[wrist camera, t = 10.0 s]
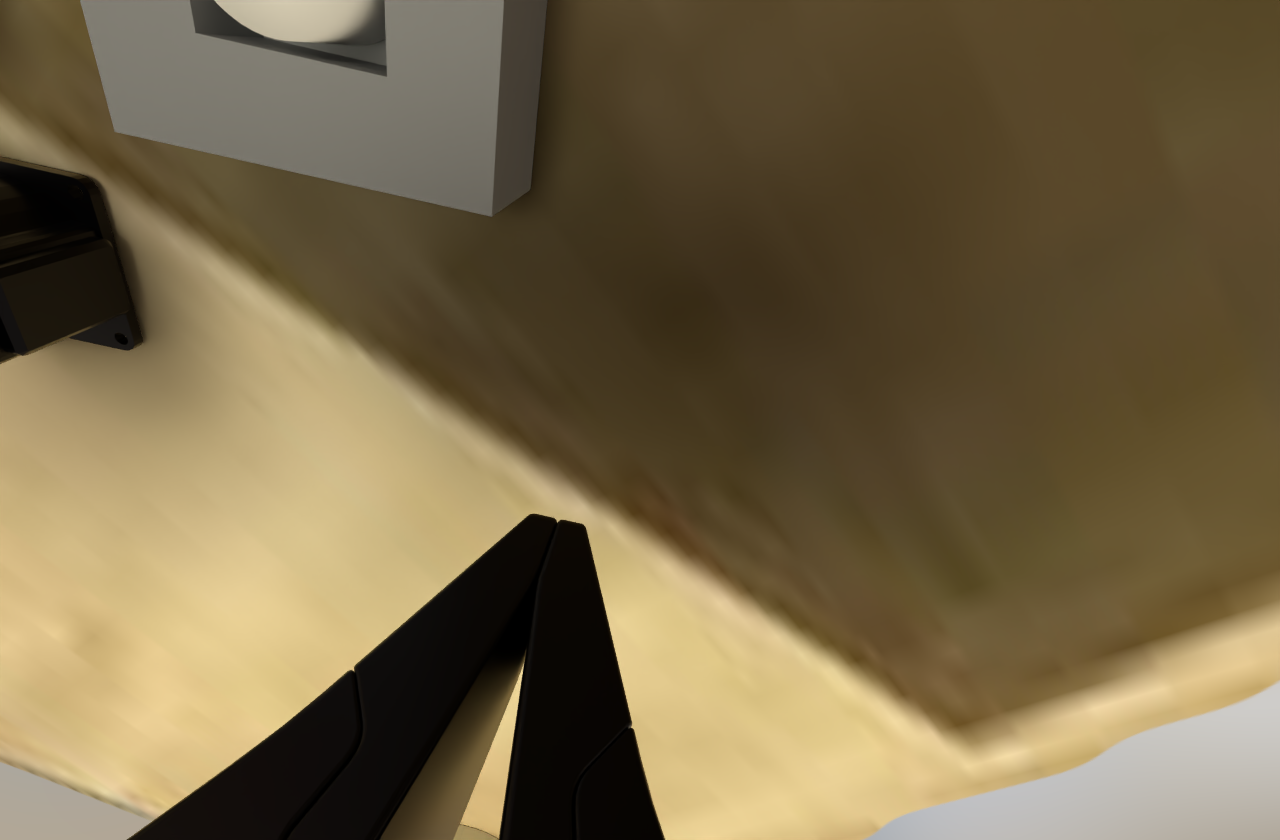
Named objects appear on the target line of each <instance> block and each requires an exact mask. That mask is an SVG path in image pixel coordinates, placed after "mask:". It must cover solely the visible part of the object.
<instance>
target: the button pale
mask: <svg viewBox="0 0 1280 840" xmlns="http://www.w3.org/2000/svg"><path fill="white" fill-rule="evenodd" d="M214 1H215V2H216V3H217V4H218V5H219V6H220V7H221V8H222V9H223V10H224V11H226V12H227V13H228V14H229V15H230V16H231V17H233V18H234V19H235V20H237V21H238V22H239V23H241V24H242V25H244V26H246V27H247V28H249V29H250V30H252V31H254V32H257V33H259V34H261V35H263V36H266V37H269V38H273V39H277V40H283V41H294V42H310V43H325V44H340V45H369V44H374V43H377V42H379V41H382V40H383V39H385V38H386V30H385V1H384V0H214Z"/></svg>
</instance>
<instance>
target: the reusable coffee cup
mask: <svg viewBox="0 0 1280 840" xmlns="http://www.w3.org/2000/svg"><path fill="white" fill-rule="evenodd" d="M453 840H499V839H497V838H495V837H493V836H492V835H490V834H488V833H485V832H483V831H480V830H478V829H474V828H471V827H468V826H464V825H459V827H458V829H457V832H456V834H455V837H454V839H453Z"/></svg>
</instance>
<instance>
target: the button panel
mask: <svg viewBox="0 0 1280 840" xmlns="http://www.w3.org/2000/svg"><path fill="white" fill-rule="evenodd" d="M384 1H385V30H386V38H385V39H383V40H382V41H379V42H377V43H374V44H369V45H340V44H325V43H310V42H294V41H283V40H277V39H273V38H269V37H266V36H263V35H261V34H259V33H257V32H254V31H252V30H250V29H249V28H247V27H246V26H244V25H242V24H241V23H239V22H238V21H237V20H235V19H234V18H233V17H231V16H230V15H229V14H228V13H227V12H226V11H224V10H223V9H222V8H221V7H220V6H219V5H218V4H217V3H216V2H215V1H214V0H80V2H81V6H82V9H83V13H84V17H85V21H86V25H87V28H88V32H89V36H90V40H91V43H92V47H93V51H94V55H95V59H96V62H97V66H98V70H99V74H100V77H101V81H102V85H103V89H104V93H105V96H106V100H107V104H108V108H109V112H110V115H111V119H112V123H113V127H114V130H115V132H118V133H123V134H127V135H131V136H136V137H140V138H145V139H149V140H154V141H158V142H162V143H167V144H171V145H176V146H180V147H185V148H189V149H193V150H198V151H202V152H207V153H211V154H216V155H220V156H225V157H229V158H233V159H238V160H242V161H247V162H251V163H256V164H260V165H264V166H269V167H273V168H278V169H282V170H287V171H291V172H295V173H300V174H304V175H309V176H313V177H318V178H322V179H326V180H331V181H335V182H340V183H344V184H349V185H353V186H357V187H362V188H366V189H371V190H375V191H380V192H384V193H388V194H393V195H397V196H402V197H406V198H411V199H415V200H419V201H424V202H428V203H433V204H437V205H442V206H446V207H451V208H455V209H459V210H464V211H468V212H473V213H477V214H482V215H486V216H490V217H492V216H494V215H495V214H496V213H498V212H499V211H501V210H502V209H504V208H505V207H506V206H508V205H509V204H511V203H512V202H514V201H515V200H517V199H518V198H519V197H521V196H522V195H524V194H525V193H527V192H528V191H529V190H531V178H532V167H533V156H534V145H535V134H536V122H537V111H538V100H539V89H540V78H541V66H542V55H543V44H544V33H545V22H546V10H547V0H384Z"/></svg>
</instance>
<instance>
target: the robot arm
mask: <svg viewBox="0 0 1280 840" xmlns="http://www.w3.org/2000/svg"><path fill="white" fill-rule="evenodd" d="M79 189H80V190H81V191H82V193H83V194H82V193H81V192H80V190H79ZM125 336H126V337H125ZM66 338H71V339H76V340H80V341H85V342H89V343H94V344H99V345H103V346H108V347H112V348H117V349H122V350H131V349H133V348H135V347H138V346H140V345H141V344H142V342H143V337H142V334H141V330H140V327H139V323H138V320H137V317H136V313H135V310H134V306H133V303H132V299H131V296H130V293H129V289H128V286H127V282H126V279H125V275H124V272H123V269H122V265H121V262H120V258H119V255H118V251H117V248H116V244H115V241H114V238H113V234H112V231H111V227H110V224H109V220H108V217H107V214H106V210H105V207H104V203H103V200H102V196H101V193H100V191H99V189H98V187H97V186H96V185H95V183H94V182H93V181H92V180H90V179H89V178H88V177H85V176H83V175H80V174H75V173H71V172H66V171H62V170H57V169H53V168H49V167H44V166H40V165H35V164H31V163H26V162H22V161H17V160H13V159H8V158H4V157H0V364H1V363H4V362H6V361H8V360H11V359H13V358H16V357H18V356H20V355H22V356H24V355H29V354H31V353H33V352H36V351H38V350H40V349H43V348H45V347H47V346H50V345H52V344H55V343H57V342H59V341H62V340H64V339H66ZM524 660H525V661H524ZM523 664H524V668H523V675H522V682H521V689H520V696H519V703H518V710H517V717H516V723H515V730H514V737H513V744H512V751H511V758H510V765H509V772H508V779H507V786H506V793H505V800H504V807H503V814H502V821H501V828H500V835H499V840H665V838H664V835H663V832H662V829H661V826H660V823H659V820H658V817H657V814H656V811H655V808H654V805H653V801H652V798H651V794H650V790H649V787H648V783H647V779H646V776H645V772H644V768H643V764H642V761H641V757H640V753H639V749H638V744H637V740H636V736H635V732H634V729H633V728H631V726H632V720H631V716H630V712H629V708H628V703H627V699H626V695H625V691H624V686H623V682H622V678H621V674H620V670H619V665H618V661H617V657H616V653H615V648H614V644H613V640H612V636H611V632H610V627H609V623H608V619H607V615H606V610H605V606H604V602H603V598H602V593H601V589H600V585H599V581H598V577H597V572H596V568H595V564H594V560H593V555H592V551H591V547H590V543H589V538H588V534H587V530H586V527H585V526H584V525H583V524H580V523H576V522H571V521H566V520H560V521H559V522H558V523H557V521H556V519H555V518H552V517H548V516H543V515H538V514H530V515H528V516H527V517H526V518H525V519H524V520H522V521H521V522H520V523H519V524H518V525H517V526H515V527H514V528H513V529H512V530H511V531H510V532H509V533H507V534H506V535H505V536H504V537H503V538H502V539H500V540H499V541H498V542H497V543H496V544H495V545H494V546H492V547H491V548H490V549H489V550H488V551H487V552H485V553H484V554H483V555H482V556H481V557H480V558H478V559H477V560H476V561H475V562H474V563H473V564H472V565H470V566H469V567H468V568H467V569H466V570H465V571H463V572H462V573H461V574H460V575H459V576H458V577H457V578H455V579H454V580H453V581H452V582H451V583H450V584H448V585H447V586H446V587H445V588H444V589H443V590H442V591H440V592H439V593H438V594H437V595H436V596H435V597H433V598H432V599H431V600H430V601H429V602H428V603H426V604H425V605H424V606H423V607H422V608H421V609H420V610H418V611H417V612H416V613H415V614H414V615H413V616H411V617H410V618H409V619H408V620H407V621H406V622H405V623H403V624H402V625H401V626H400V627H399V628H398V629H396V630H395V631H394V632H393V633H392V634H391V635H390V636H388V637H387V638H386V639H385V640H384V641H383V642H381V643H380V644H379V645H378V646H377V647H376V648H374V649H373V650H372V651H371V652H370V653H369V654H368V655H366V656H365V657H364V658H363V659H362V660H361V661H359V662H358V663H357V664H356V665H355V667H354V671H352V670H349V671H347V672H346V673H345V674H344V675H343V676H342V677H341V678H339V679H338V680H337V681H336V682H335V683H334V684H333V685H331V686H330V687H329V688H328V689H327V690H326V691H325V692H323V693H322V694H321V695H320V696H319V697H317V698H316V699H315V700H314V701H312V702H311V703H310V704H309V705H308V706H306V707H305V708H304V709H303V710H302V711H300V712H299V713H298V714H297V715H295V716H294V717H293V718H292V719H291V720H289V721H288V722H287V723H286V724H284V725H283V726H282V727H281V728H279V729H278V730H277V731H275V732H274V733H273V734H271V735H270V736H269V737H267V738H266V739H265V740H263V741H262V742H261V743H259V744H258V745H257V746H255V747H254V748H253V749H251V750H250V751H249V752H247V753H246V754H245V755H243V756H242V757H241V758H239V759H238V760H237V761H235V762H234V763H233V764H231V765H230V766H228V767H227V768H226V769H224V770H223V771H222V772H220V773H219V774H217V775H216V776H215V777H213V778H212V779H210V780H209V781H208V782H206V783H205V784H203V785H202V786H201V787H199V788H198V789H197V790H195V791H194V792H192V793H191V794H190V795H188V796H187V797H185V798H184V799H183V800H181V801H180V802H178V803H177V804H176V805H174V806H173V807H172V808H170V809H169V810H167V811H166V812H165V813H163V814H162V815H160V816H159V817H158V818H156V819H155V820H153V821H152V822H151V823H149V824H148V825H147V826H145V827H144V828H142V829H141V830H140V831H138V832H137V833H135V834H134V835H133V836H131V837H130V838H128V839H127V840H453V839H454V837H455V834H456V832H457V829H458V827H459V824H460V822H461V819H462V817H463V814H464V812H465V809H466V807H467V804H468V802H469V799H470V797H471V794H472V792H473V789H474V787H475V784H476V782H477V779H478V777H479V774H480V772H481V770H482V767H483V765H484V762H485V760H486V757H487V755H488V752H489V750H490V747H491V745H492V742H493V740H494V737H495V735H496V732H497V730H498V727H499V725H500V722H501V720H502V717H503V715H504V712H505V710H506V707H507V705H508V702H509V700H510V697H511V695H512V692H513V690H514V688H515V685H516V683H517V680H518V677H519V675H520V672H521V669H522V666H523Z"/></svg>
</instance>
